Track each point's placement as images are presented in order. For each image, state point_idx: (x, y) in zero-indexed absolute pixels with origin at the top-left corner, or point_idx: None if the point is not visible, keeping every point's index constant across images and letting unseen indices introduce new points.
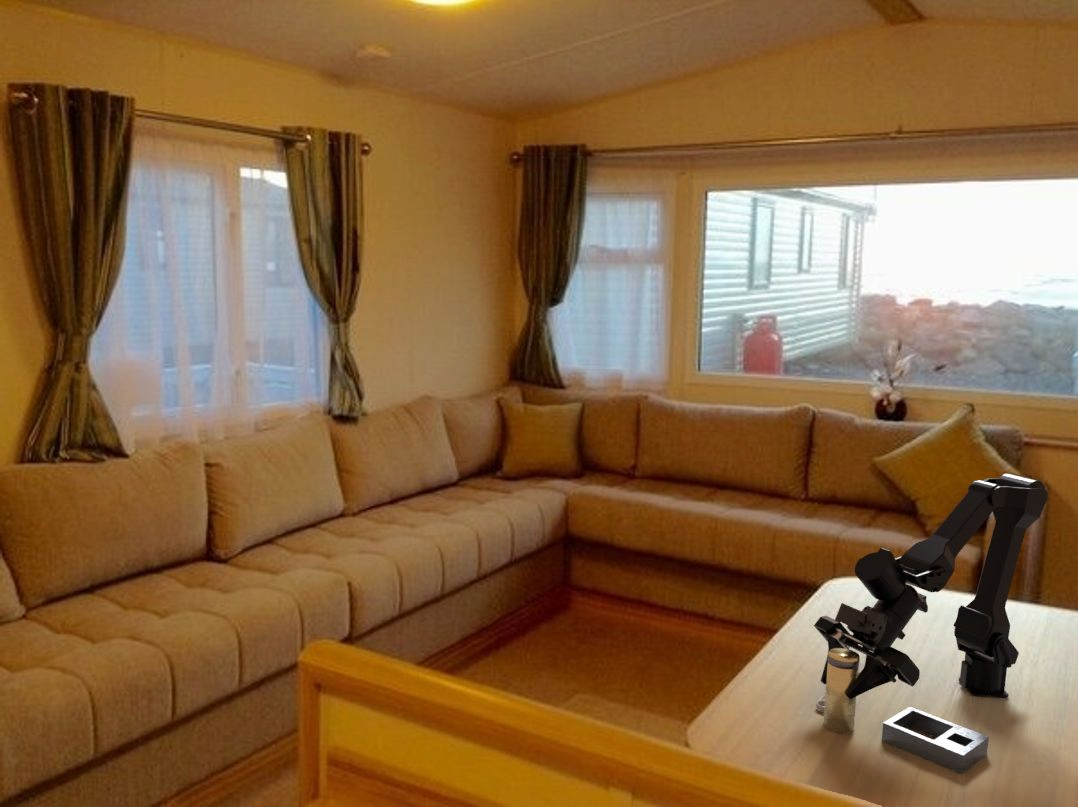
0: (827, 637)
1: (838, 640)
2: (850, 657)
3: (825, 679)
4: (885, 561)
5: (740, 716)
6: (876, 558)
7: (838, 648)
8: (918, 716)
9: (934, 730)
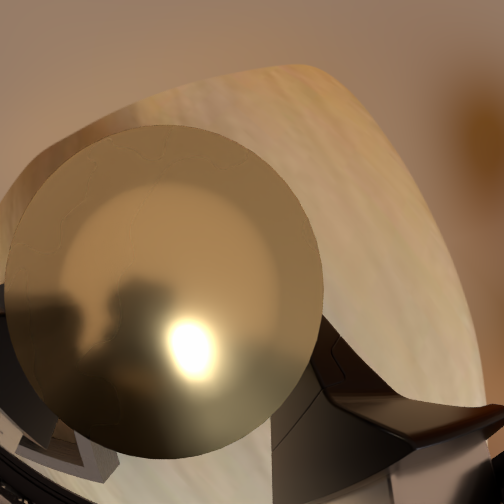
0: (479, 409)
1: (388, 488)
2: (49, 259)
3: None
4: None
5: (361, 164)
6: None
7: (285, 377)
8: (75, 459)
9: (51, 443)
